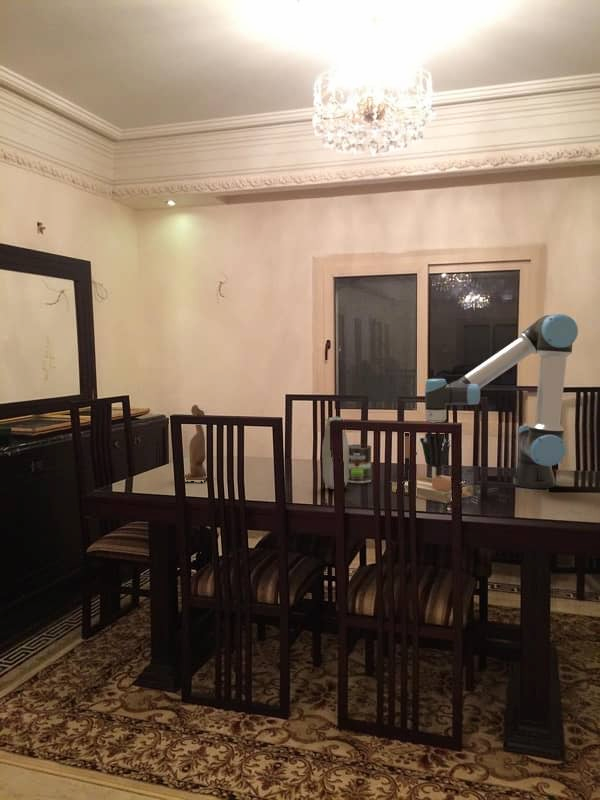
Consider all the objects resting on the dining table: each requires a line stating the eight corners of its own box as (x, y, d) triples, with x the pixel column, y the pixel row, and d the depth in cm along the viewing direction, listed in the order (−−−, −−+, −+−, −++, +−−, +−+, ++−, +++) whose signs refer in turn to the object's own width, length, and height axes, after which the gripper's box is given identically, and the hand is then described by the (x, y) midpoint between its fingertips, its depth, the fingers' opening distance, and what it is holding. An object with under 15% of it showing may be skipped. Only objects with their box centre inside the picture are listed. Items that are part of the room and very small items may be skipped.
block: (442, 485, 235) (442, 475, 234) (460, 489, 229) (460, 478, 228) (432, 488, 231) (432, 477, 230) (450, 492, 225) (450, 481, 224)
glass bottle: (348, 492, 236) (347, 418, 234) (321, 491, 238) (320, 418, 235) (350, 486, 246) (349, 415, 243) (324, 485, 248) (323, 415, 245)
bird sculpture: (206, 484, 256) (206, 406, 253) (179, 483, 258) (179, 405, 255) (215, 478, 267) (215, 404, 264) (188, 477, 269) (188, 403, 266)
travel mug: (415, 479, 256) (415, 430, 254) (397, 478, 259) (396, 430, 257) (418, 475, 263) (418, 428, 262) (400, 474, 266) (400, 427, 264)
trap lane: (415, 484, 247) (415, 475, 247) (472, 495, 227) (472, 485, 227) (388, 491, 236) (388, 482, 236) (446, 503, 217) (446, 493, 217)
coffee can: (369, 483, 250) (369, 448, 249) (344, 482, 252) (343, 448, 251) (373, 478, 260) (372, 444, 259) (348, 477, 262) (348, 444, 261)
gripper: (415, 420, 234) (415, 482, 236) (444, 423, 224) (444, 488, 226) (427, 418, 239) (427, 479, 241) (456, 421, 229) (456, 484, 231)
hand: (435, 483), depth 233 cm, fingers closed
